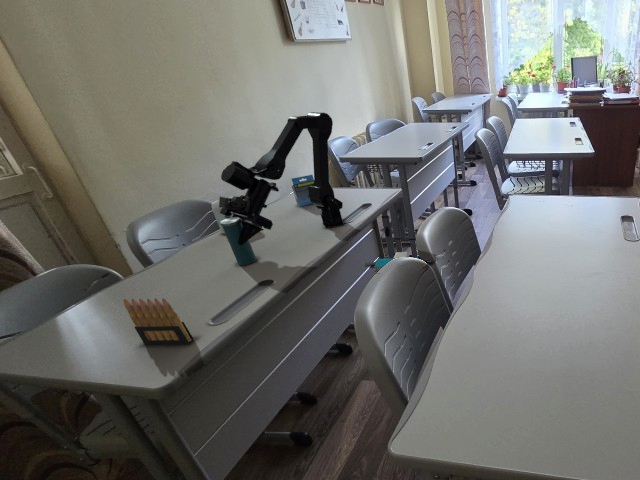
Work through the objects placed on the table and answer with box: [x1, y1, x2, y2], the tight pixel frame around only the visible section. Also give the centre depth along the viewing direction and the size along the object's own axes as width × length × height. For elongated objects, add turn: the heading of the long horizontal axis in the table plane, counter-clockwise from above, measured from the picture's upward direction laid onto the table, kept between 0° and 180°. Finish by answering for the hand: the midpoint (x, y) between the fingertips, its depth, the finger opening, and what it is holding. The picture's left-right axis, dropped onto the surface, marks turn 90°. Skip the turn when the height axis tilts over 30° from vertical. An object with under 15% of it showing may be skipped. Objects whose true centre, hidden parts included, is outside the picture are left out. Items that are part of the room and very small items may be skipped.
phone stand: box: [364, 251, 432, 274], centre depth 121 cm, size 20×12×2 cm, turn 91°
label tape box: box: [290, 174, 314, 208], centre depth 171 cm, size 9×4×12 cm, turn 130°
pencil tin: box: [220, 217, 257, 266], centre depth 123 cm, size 6×6×14 cm
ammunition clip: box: [123, 297, 194, 346], centre depth 89 cm, size 11×2×12 cm, turn 88°
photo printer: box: [210, 196, 247, 235], centre depth 148 cm, size 10×4×12 cm, turn 134°
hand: (234, 243), depth 122 cm, fingers closed on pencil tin, 5 cm apart
